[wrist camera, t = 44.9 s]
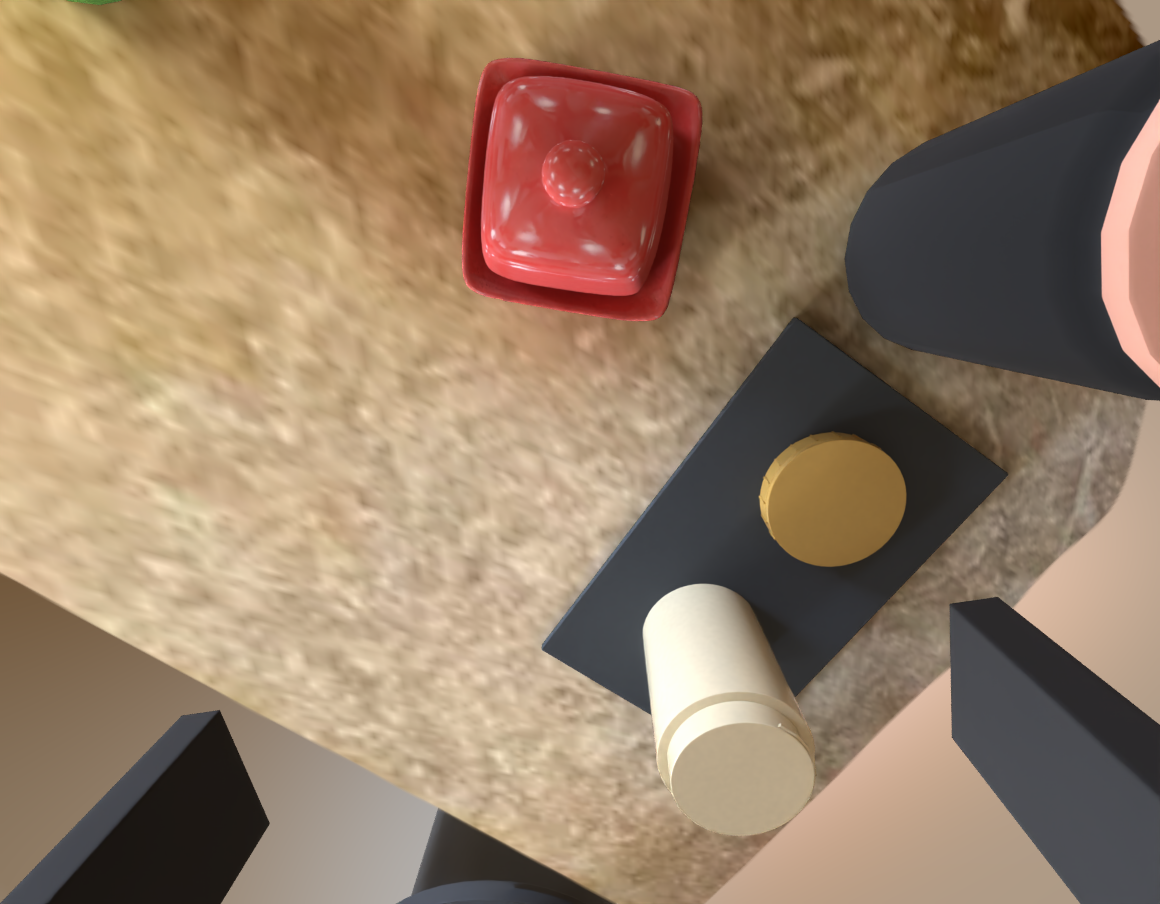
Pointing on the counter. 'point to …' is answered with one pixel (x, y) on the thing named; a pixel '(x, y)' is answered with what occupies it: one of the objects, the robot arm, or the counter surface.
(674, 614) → the cream-colored jar
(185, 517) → the counter surface
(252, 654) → the counter surface
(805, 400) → the mat
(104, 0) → the wine bottle
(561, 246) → the butter dish
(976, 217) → the coffee jar
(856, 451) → the lid
